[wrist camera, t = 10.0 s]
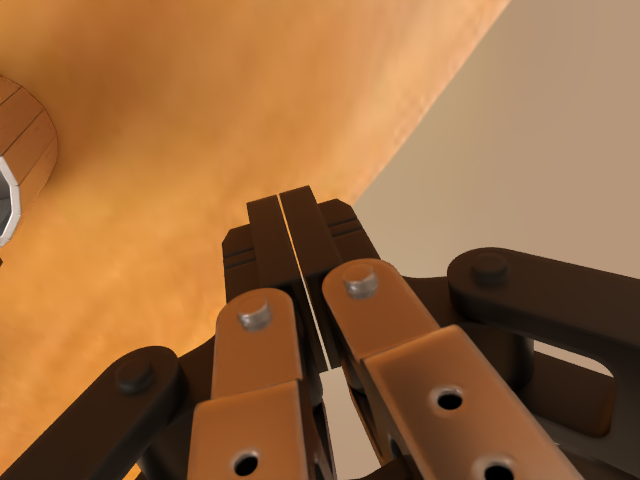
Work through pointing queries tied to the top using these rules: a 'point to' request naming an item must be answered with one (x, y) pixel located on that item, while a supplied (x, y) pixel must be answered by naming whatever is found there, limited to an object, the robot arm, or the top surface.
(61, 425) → the robot arm
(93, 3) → the top surface
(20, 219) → the pot
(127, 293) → the top surface
